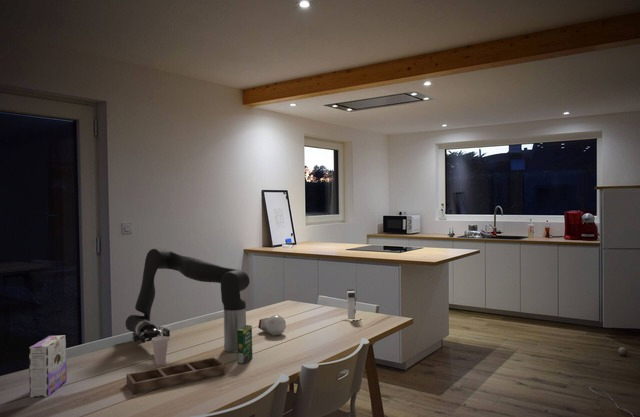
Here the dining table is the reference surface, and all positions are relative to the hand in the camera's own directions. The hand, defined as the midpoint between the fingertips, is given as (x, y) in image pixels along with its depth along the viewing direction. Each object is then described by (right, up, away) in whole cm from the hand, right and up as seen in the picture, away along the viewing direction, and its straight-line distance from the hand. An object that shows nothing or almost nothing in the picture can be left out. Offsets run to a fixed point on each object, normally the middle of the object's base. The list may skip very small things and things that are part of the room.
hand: (155, 338), depth 191 cm
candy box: (-24, -8, -32) cm, 41 cm away
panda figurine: (+83, -7, +61) cm, 103 cm away
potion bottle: (+44, -7, +34) cm, 56 cm away
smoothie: (+4, -8, -7) cm, 11 cm away
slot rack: (+16, -7, -25) cm, 31 cm away
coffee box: (+37, -7, -6) cm, 38 cm away
